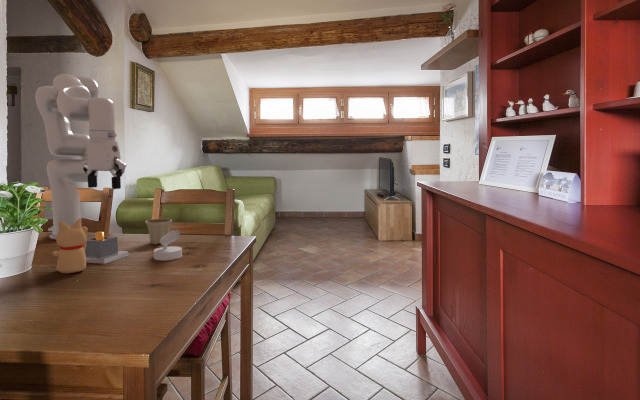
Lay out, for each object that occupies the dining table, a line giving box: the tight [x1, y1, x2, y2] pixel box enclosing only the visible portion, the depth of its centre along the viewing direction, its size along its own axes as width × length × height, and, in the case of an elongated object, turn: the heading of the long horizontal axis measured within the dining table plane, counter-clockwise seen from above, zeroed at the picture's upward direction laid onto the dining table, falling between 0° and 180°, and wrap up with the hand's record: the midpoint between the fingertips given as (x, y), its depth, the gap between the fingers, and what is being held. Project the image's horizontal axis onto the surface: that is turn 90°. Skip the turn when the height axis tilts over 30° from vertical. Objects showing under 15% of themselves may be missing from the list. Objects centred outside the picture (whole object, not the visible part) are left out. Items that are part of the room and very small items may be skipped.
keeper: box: [86, 231, 129, 265], centre depth 121 cm, size 12×10×8 cm
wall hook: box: [153, 229, 183, 261], centre depth 123 cm, size 9×10×10 cm
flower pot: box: [144, 218, 173, 245], centre depth 145 cm, size 9×9×9 cm
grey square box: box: [85, 235, 119, 257], centre depth 121 cm, size 7×7×5 cm
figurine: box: [52, 218, 89, 274], centre depth 108 cm, size 9×10×15 cm
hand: (104, 188), depth 127 cm, fingers open, 9 cm apart
